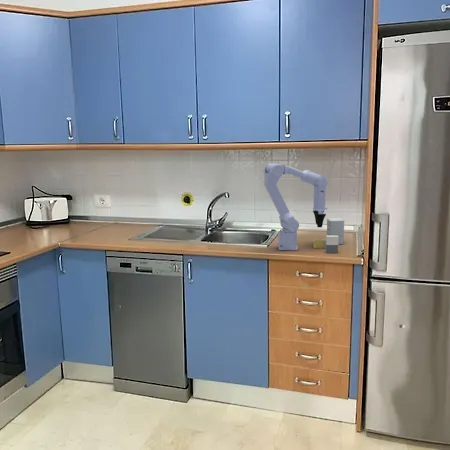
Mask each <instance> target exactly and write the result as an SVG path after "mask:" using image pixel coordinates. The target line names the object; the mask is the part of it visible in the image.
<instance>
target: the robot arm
mask: <svg viewBox="0 0 450 450" xmlns="http://www.w3.org/2000/svg"><path fill="white" fill-rule="evenodd" d="M263 173H264V182H263V183H264V187H265V189H266V192H267V193H268V194H269V196H270V199H271V201H272V203H273V205H274V207H275V209H276V211H277V213H278V215H279V221H280V222H279V223H280V227H281V228H282V230H279V231H278V233H277V234H278V236H277V237H278V239H277V240H278V241H277V247H278V250H279V251H298V250H299V247H298V237H297V236H298V231H297V230H299V228H300V223H299V221H298V220H297V219H296V218H295V216H294V215H293V214H292V213H291V211H290V209H289V208H288V206H287V204H286V202H285V200H284V198H283V196H282V193H281V192H280V190H279V188H278V186H277V183H278V182H279V180H280V179H281V177H282V176H284V175H292V176H295V177H298V178H300V181H301V182H303V183H306V184H310V185H313V208H312V209H313V210H312V213H313V215H314V219H315V220H314V221H315V224H316V225H317V228H322V227H323V224H324V220H325V218H326V216H327V214H326V213H325V210H328V207H326V190H327V188H326V187H327V186H328V185H329V181H328V178H327V177H326V176H325V175H320V174H319V173H318V172H312V170H311V169H304V170H300V169H297V168H295V167H292V166H290V165H286V164H282V163H274V162H268V163H267V164H266V165H265V167H264V170H263Z"/></svg>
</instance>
